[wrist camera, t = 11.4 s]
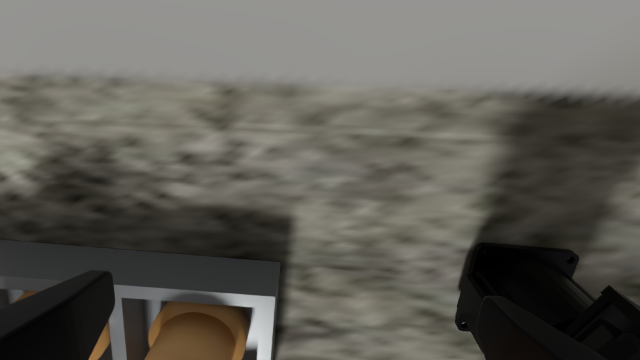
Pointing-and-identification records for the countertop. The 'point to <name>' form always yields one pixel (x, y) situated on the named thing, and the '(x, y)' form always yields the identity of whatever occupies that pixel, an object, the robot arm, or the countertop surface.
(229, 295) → the gray divided tray
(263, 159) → the countertop surface
